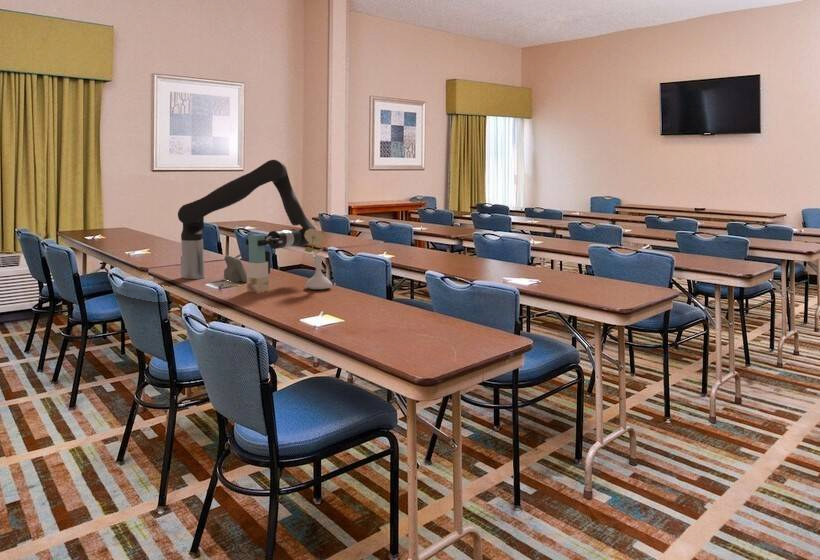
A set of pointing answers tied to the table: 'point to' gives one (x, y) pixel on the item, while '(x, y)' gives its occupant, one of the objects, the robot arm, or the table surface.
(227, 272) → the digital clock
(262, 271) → the cream cube
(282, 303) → the table surface
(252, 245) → the teal post
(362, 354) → the table surface
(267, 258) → the pen holder
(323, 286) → the flower in vase
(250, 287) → the maple cube
